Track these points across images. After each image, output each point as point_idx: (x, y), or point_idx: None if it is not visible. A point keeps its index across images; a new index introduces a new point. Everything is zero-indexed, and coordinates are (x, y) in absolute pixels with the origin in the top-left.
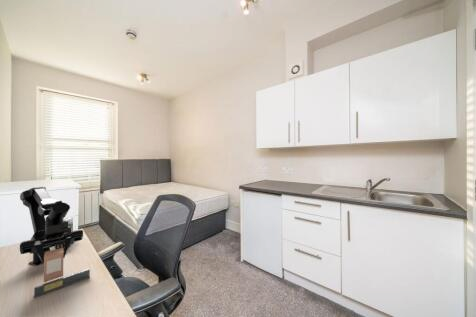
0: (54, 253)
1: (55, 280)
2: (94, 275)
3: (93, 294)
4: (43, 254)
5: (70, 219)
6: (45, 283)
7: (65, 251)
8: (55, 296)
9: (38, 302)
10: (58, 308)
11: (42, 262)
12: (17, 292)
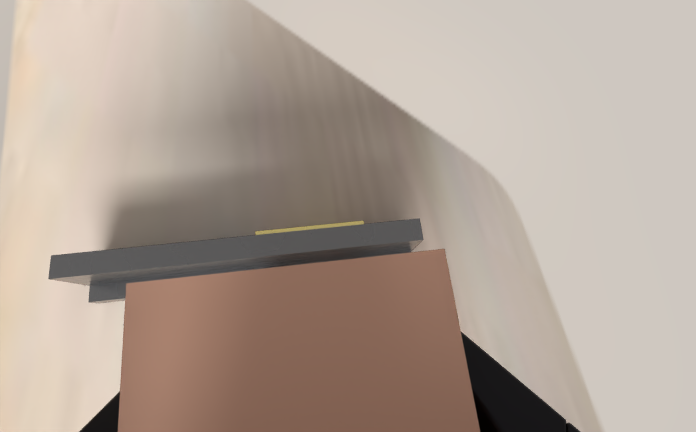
0: (288, 337)
1: (299, 241)
2: None
3: (122, 52)
4: (495, 423)
5: None
6: (360, 242)
7: (103, 416)
8: (297, 167)
9: (371, 165)
10: (275, 47)
11: None
12: None
